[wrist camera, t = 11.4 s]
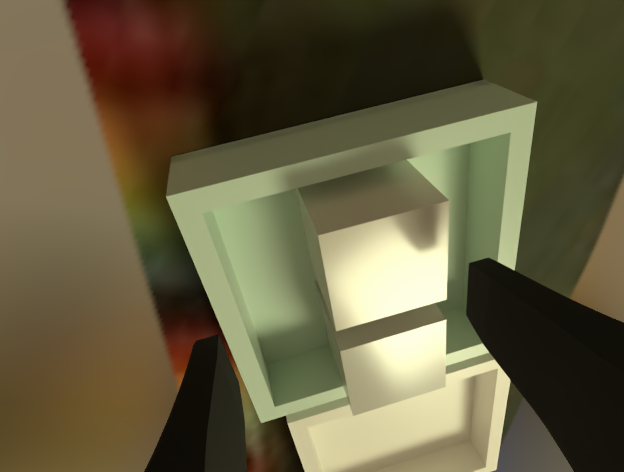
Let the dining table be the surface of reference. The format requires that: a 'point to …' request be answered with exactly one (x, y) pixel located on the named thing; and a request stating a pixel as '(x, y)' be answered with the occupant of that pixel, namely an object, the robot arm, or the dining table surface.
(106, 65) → the dining table surface
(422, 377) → the cream cube block
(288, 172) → the tub
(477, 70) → the dining table surface
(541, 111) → the dining table surface
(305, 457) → the tray
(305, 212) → the ivory sharp-edged cube
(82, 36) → the dining table surface
